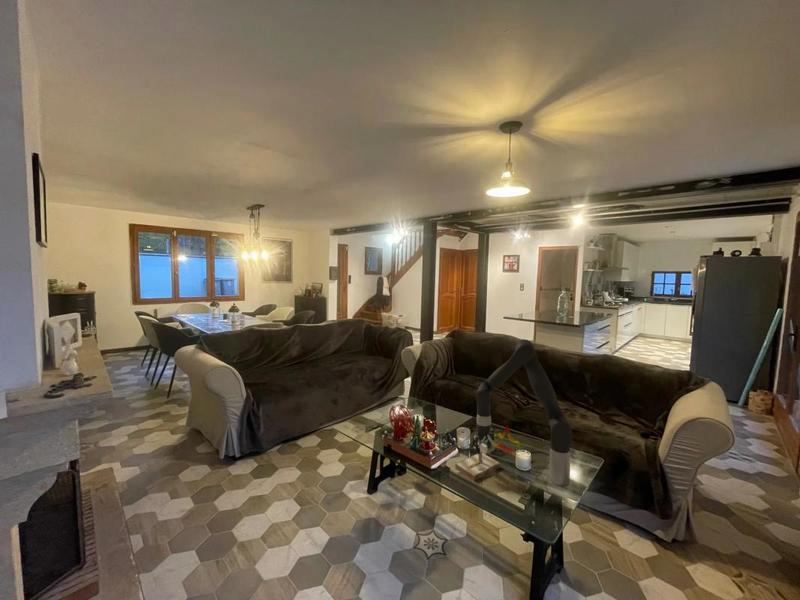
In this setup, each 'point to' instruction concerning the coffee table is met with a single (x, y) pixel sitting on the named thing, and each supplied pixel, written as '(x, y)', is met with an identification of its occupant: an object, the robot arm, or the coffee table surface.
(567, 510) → the coffee table surface
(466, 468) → the desk tray with supplies
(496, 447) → the chart
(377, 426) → the coffee table surface
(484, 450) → the wooden mallet
